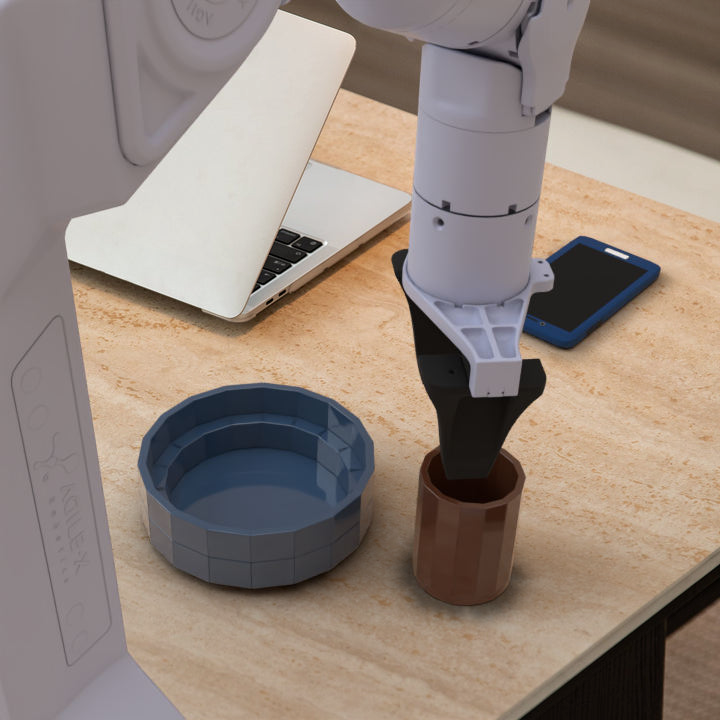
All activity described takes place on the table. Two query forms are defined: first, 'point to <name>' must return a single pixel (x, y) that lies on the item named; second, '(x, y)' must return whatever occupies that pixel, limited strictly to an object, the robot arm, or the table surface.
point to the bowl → (256, 484)
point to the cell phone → (585, 290)
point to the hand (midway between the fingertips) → (452, 424)
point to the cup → (467, 530)
